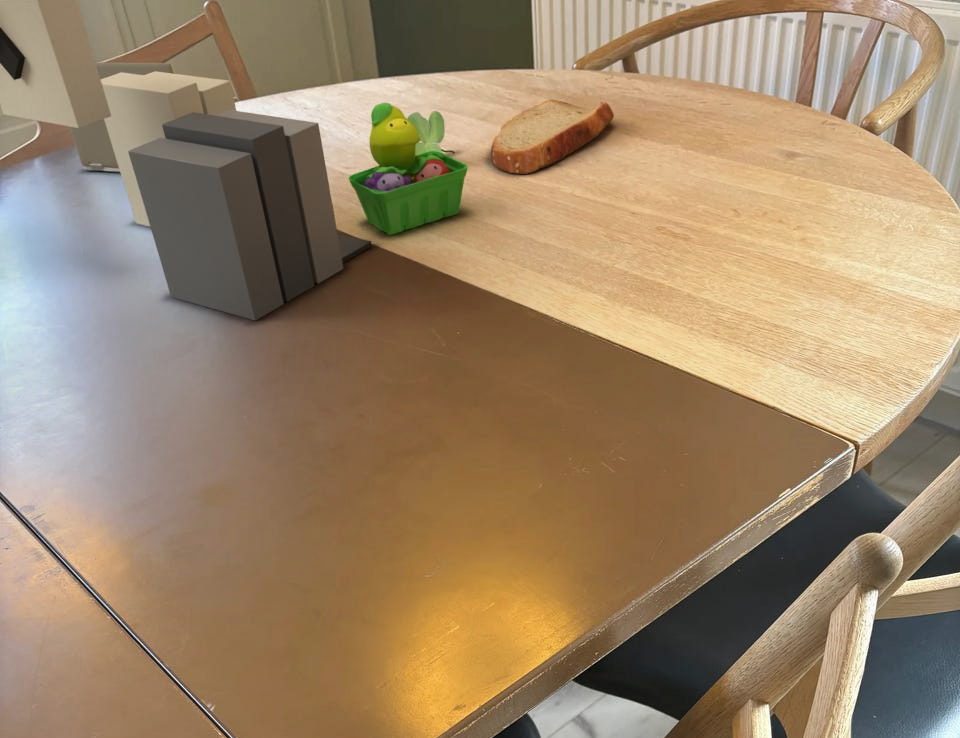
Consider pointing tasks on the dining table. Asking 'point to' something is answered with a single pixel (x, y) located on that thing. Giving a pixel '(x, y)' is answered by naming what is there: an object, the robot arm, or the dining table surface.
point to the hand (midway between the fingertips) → (39, 61)
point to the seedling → (428, 132)
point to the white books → (154, 115)
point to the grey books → (241, 210)
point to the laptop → (95, 136)
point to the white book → (51, 65)
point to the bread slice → (546, 135)
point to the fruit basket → (406, 177)
